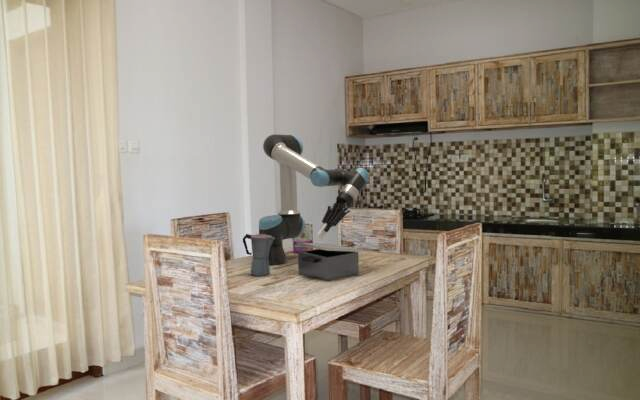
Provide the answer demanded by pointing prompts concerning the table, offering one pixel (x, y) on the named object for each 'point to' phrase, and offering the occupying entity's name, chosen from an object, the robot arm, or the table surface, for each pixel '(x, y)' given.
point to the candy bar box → (303, 239)
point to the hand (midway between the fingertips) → (319, 236)
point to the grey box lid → (328, 247)
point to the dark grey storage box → (328, 264)
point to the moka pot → (259, 253)
